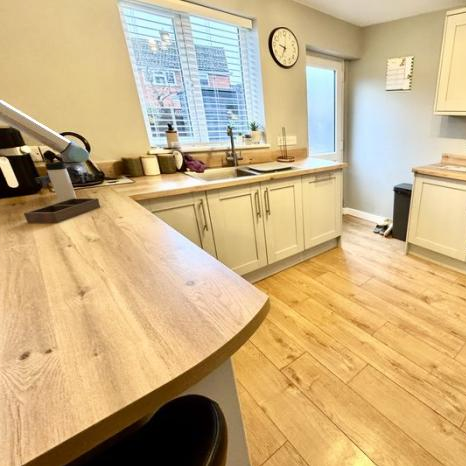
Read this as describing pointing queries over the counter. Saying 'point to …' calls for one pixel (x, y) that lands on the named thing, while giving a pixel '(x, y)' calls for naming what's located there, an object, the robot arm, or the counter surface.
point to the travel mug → (60, 181)
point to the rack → (62, 210)
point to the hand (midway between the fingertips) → (61, 181)
